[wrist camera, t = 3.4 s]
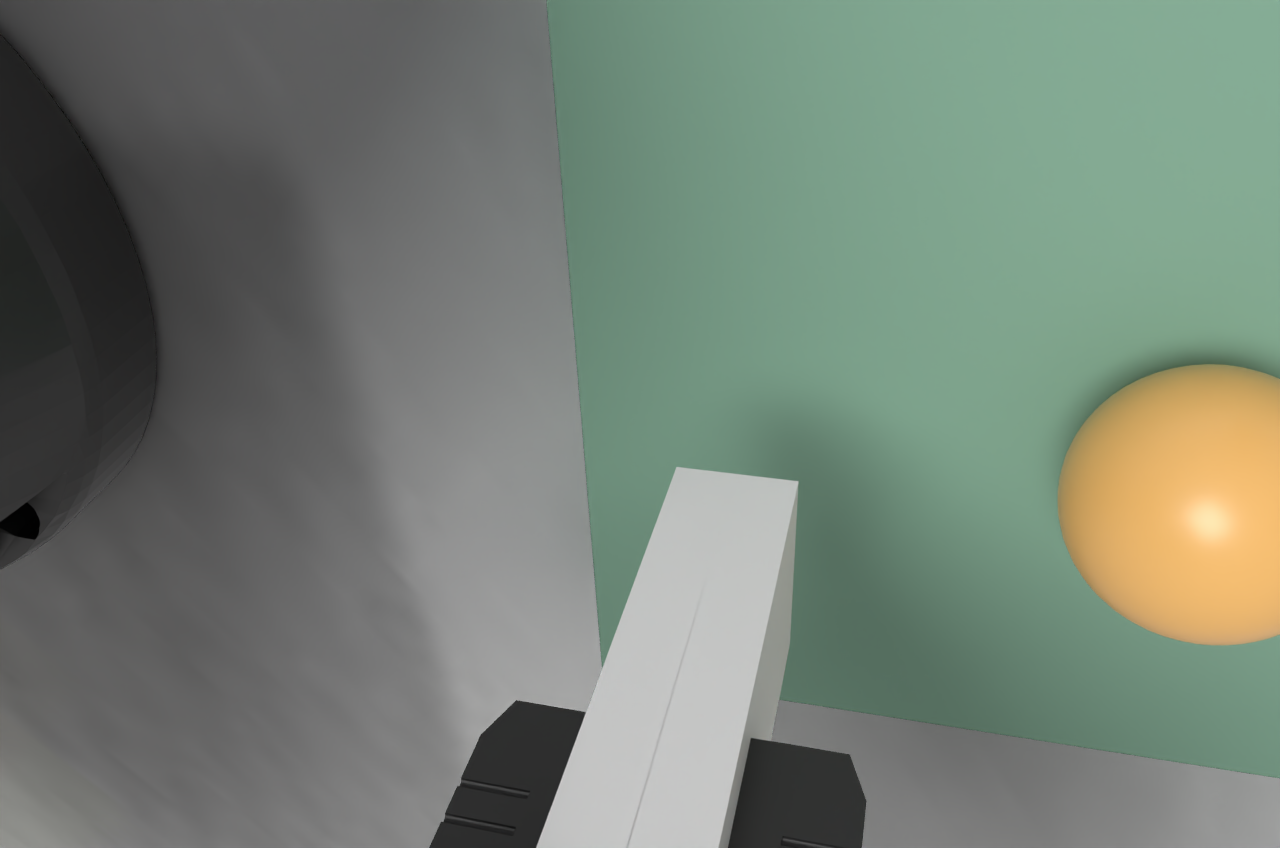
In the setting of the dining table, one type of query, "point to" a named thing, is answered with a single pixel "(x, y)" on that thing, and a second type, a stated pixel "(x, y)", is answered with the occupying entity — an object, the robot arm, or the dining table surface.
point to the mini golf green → (923, 322)
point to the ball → (1181, 503)
